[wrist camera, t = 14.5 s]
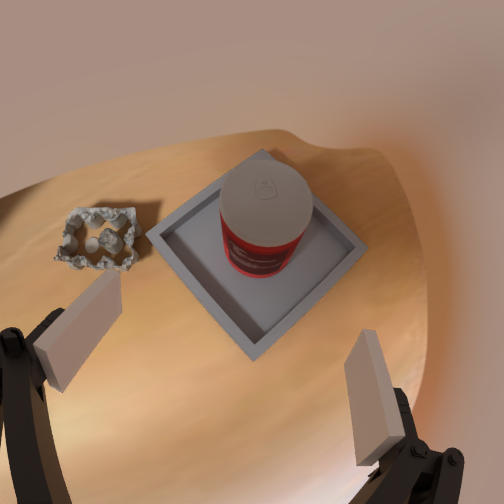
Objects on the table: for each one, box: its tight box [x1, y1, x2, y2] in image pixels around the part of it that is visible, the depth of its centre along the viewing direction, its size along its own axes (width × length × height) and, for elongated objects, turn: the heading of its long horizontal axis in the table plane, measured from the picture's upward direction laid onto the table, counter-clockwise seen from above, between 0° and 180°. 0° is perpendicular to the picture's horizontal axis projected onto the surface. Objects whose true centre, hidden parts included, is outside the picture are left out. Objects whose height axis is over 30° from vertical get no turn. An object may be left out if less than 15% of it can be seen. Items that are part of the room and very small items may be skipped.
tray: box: [145, 149, 368, 361], centre depth 33 cm, size 18×18×2 cm
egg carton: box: [54, 207, 142, 271], centre depth 32 cm, size 11×8×4 cm
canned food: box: [219, 159, 313, 279], centre depth 28 cm, size 8×8×11 cm
